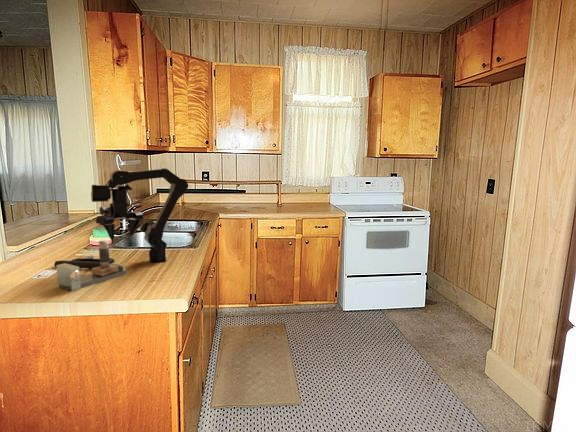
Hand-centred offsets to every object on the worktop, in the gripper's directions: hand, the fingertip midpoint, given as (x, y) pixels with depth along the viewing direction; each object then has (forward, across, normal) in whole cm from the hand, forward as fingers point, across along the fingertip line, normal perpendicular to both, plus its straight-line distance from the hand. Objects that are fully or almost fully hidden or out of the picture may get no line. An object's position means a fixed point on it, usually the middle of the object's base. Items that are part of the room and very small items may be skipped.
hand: (121, 237), depth 149 cm
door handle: (+13, +6, -14) cm, 20 cm away
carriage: (+10, +13, +7) cm, 18 cm away
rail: (+12, +17, +7) cm, 22 cm away
